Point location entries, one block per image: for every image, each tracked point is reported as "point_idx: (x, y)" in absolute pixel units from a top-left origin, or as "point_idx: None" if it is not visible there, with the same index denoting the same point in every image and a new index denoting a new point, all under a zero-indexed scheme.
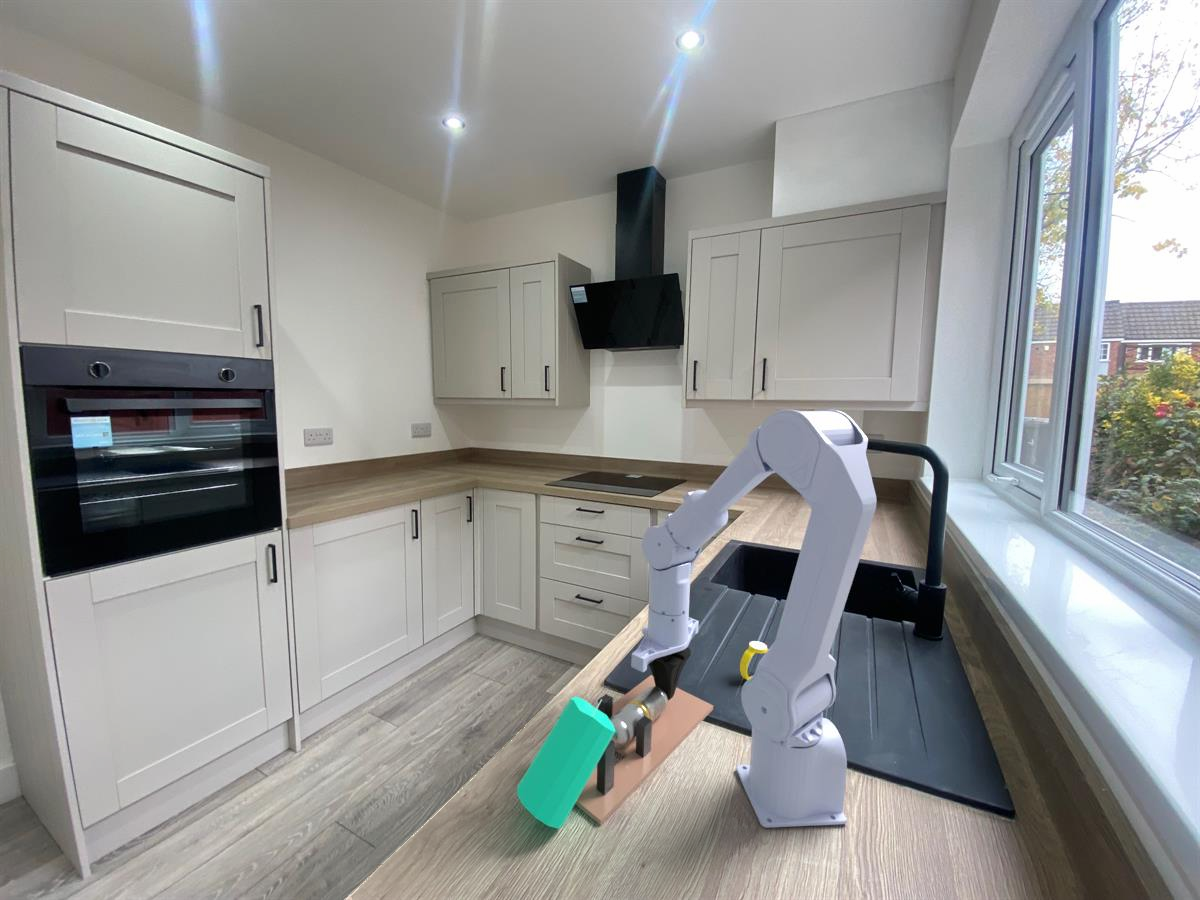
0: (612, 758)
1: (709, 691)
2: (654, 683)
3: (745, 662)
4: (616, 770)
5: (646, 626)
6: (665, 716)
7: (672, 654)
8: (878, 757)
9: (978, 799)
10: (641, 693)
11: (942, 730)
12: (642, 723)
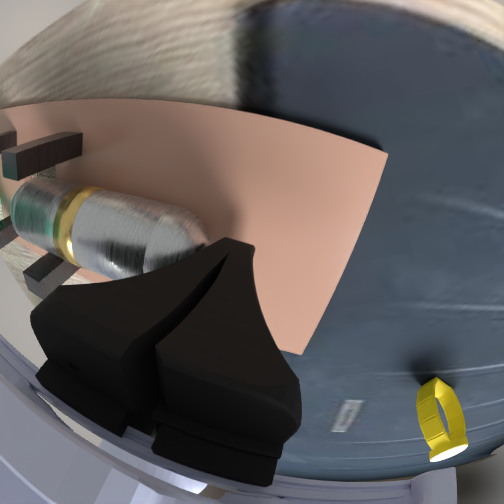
0: None
1: (376, 331)
2: (336, 182)
3: (424, 424)
4: None
5: (24, 477)
6: None
7: (149, 433)
8: (292, 457)
9: (275, 472)
10: (109, 228)
11: (356, 474)
12: (28, 284)
